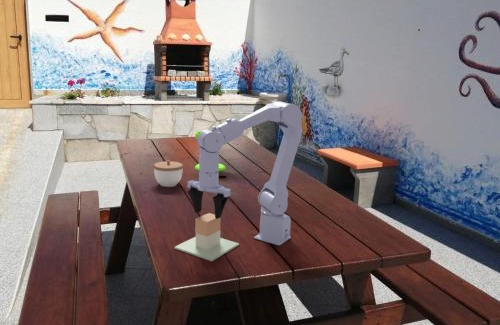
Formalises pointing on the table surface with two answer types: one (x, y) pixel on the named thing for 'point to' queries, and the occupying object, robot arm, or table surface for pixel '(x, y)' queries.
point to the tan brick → (207, 224)
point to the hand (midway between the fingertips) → (207, 214)
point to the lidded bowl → (168, 173)
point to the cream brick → (208, 240)
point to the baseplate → (209, 254)
